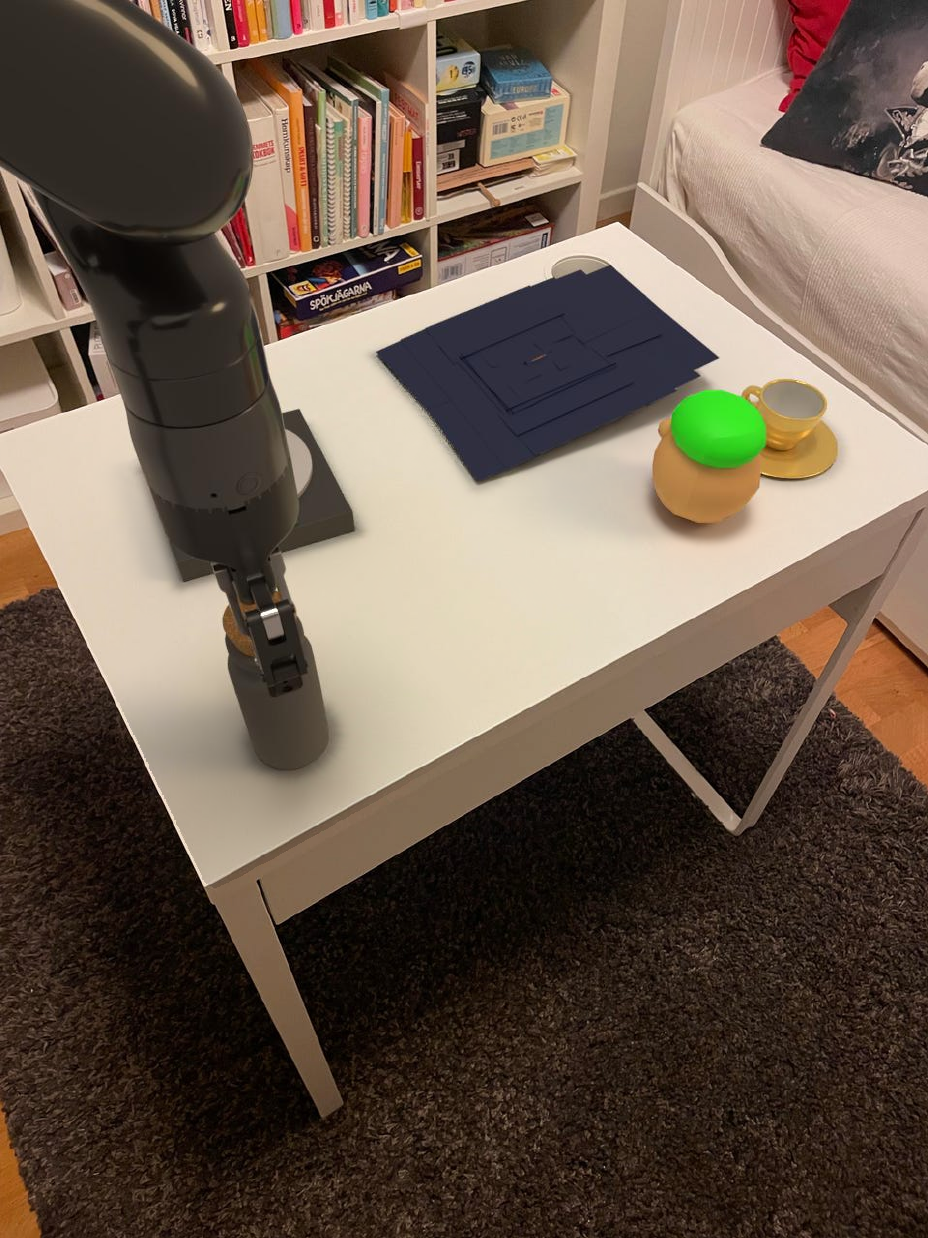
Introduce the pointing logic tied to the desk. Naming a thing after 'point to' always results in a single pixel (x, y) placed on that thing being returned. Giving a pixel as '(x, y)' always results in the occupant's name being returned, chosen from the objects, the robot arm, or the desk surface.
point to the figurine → (709, 456)
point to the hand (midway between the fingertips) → (267, 640)
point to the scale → (317, 496)
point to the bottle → (276, 702)
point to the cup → (793, 429)
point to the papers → (544, 366)
